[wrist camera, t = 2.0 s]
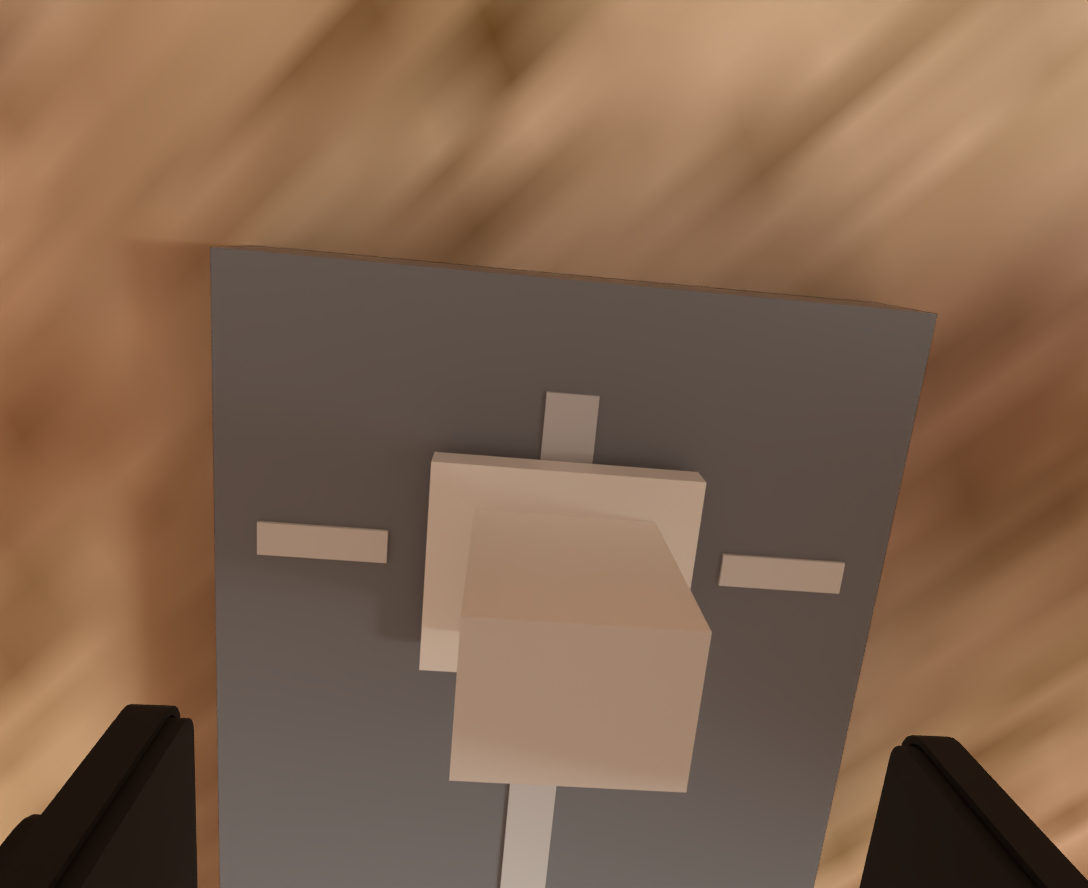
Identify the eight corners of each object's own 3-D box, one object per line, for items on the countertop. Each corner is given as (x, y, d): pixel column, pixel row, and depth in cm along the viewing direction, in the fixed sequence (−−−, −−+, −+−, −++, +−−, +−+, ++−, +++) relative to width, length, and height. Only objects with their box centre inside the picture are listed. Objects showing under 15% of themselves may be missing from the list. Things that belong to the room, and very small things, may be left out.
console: (876, 302, 21) (939, 313, 18) (732, 1041, 27) (760, 1142, 24) (254, 245, 20) (208, 247, 17) (255, 1026, 26) (222, 1130, 23)
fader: (697, 471, 18) (783, 578, 12) (669, 667, 19) (735, 844, 14) (434, 452, 18) (399, 552, 12) (423, 652, 19) (385, 828, 13)
